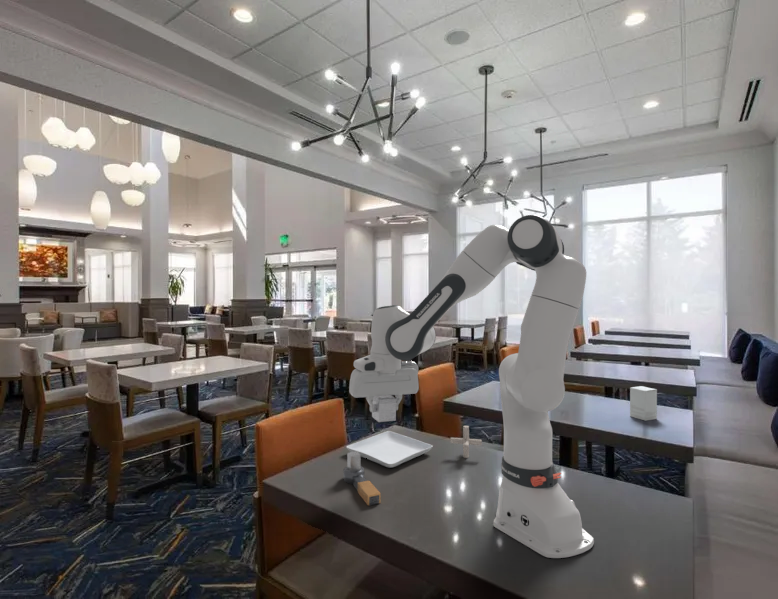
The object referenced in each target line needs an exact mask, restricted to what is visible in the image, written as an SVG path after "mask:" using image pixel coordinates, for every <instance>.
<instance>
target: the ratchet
mask: <svg viewBox="0 0 778 599" xmlns="http://www.w3.org/2000/svg"><path fill="white" fill-rule="evenodd" d="M346 456H347V458H346V460H347V461H346V463H347V464H346V465H347V466H345V467H344V468H343V471H342V472H343V475H342V476H343V478H342V480H343V479H344V480H343V482H344V483H346V482H347V484H349V485H350V484H351V485H353V486H354V488H355V489H356V491H357V494H359V496H360V497H361V499H362V500H363V501H364V502H365V504H366V505H367V506H373V505H378V504H381V492H380V491H379V490H378V489H377V487H375V484H373V483H372V482H371V481H370V480H368V479H366V478H365V468H364V466H362V464H361V460H362V459H361V458H362V457H361V455H360V454H359V453H358V452H357V451H355V452H350V451H349V452H347V453H346Z"/></svg>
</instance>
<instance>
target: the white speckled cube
mask: <svg viewBox="0 0 778 599" xmlns="http://www.w3.org/2000/svg"><path fill="white" fill-rule="evenodd" d="M396 400H397V399H396V397H394V395H388V396H373V400H371V401H372V403H373V404H375V405H376V406H377V408H376V410H377V411H376V412H371V417H372V418H373V419H374V420H376V422H378V423H383V422H393V421H396V420H397V410H396Z"/></svg>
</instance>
